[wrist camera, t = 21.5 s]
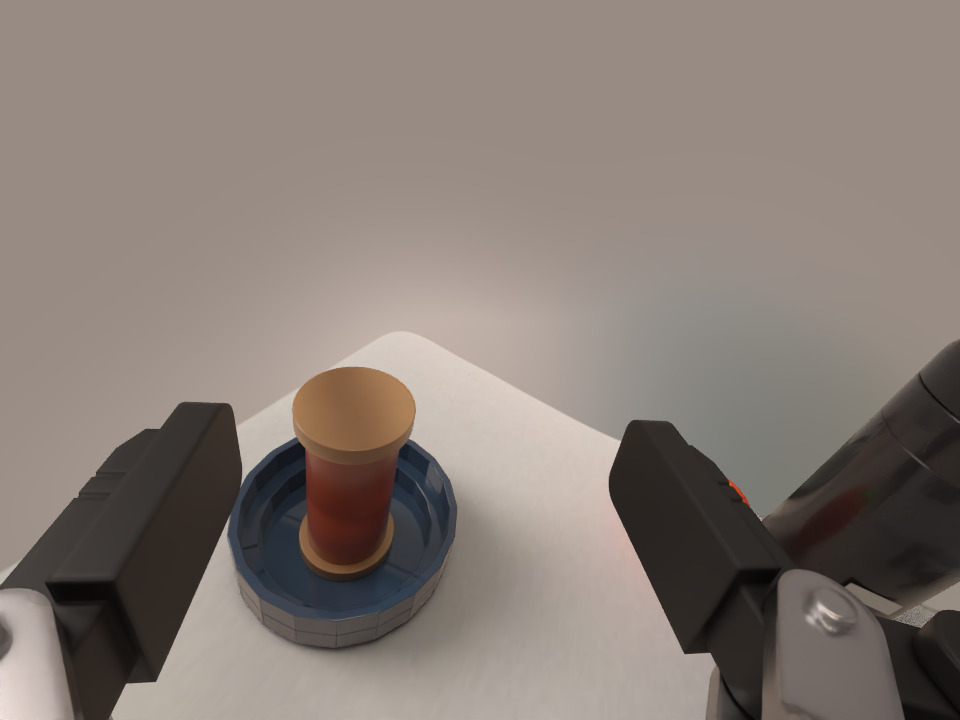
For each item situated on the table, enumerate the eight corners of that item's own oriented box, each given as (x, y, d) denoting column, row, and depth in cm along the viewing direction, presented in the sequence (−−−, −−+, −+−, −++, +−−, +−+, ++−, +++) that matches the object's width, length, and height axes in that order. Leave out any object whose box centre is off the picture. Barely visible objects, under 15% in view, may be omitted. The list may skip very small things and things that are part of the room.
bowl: (395, 441, 37) (400, 406, 35) (482, 581, 30) (496, 549, 27) (215, 500, 30) (206, 461, 28) (270, 705, 23) (264, 676, 20)
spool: (371, 486, 33) (385, 357, 26) (408, 555, 29) (436, 428, 22) (287, 518, 30) (276, 381, 22) (317, 599, 26) (317, 468, 19)
